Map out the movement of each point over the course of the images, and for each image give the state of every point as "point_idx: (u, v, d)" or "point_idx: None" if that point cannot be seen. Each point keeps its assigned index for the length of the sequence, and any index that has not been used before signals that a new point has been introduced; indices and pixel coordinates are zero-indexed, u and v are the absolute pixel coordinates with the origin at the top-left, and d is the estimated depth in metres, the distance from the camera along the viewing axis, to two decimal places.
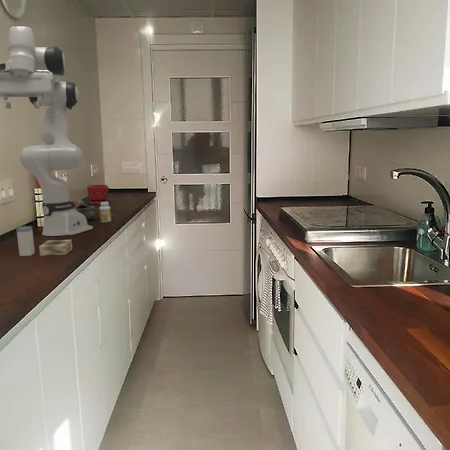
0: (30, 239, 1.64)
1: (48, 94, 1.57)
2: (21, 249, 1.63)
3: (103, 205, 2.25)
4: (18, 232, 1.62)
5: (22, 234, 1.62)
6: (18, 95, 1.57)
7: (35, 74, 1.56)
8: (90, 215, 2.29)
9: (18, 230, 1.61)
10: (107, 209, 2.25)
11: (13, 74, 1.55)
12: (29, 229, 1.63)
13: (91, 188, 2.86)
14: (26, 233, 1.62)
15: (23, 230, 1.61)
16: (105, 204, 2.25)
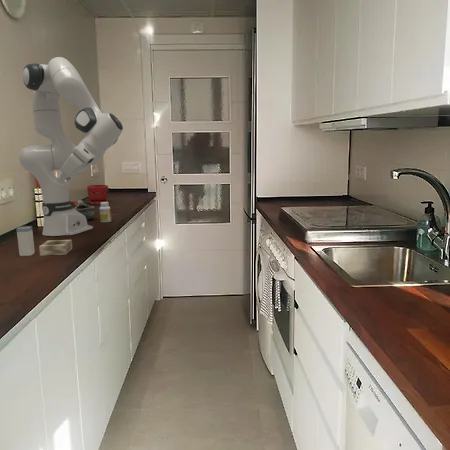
0: (30, 239, 1.64)
1: None
2: (21, 249, 1.63)
3: (103, 205, 2.25)
4: (18, 232, 1.62)
5: (22, 234, 1.62)
6: None
7: None
8: (90, 215, 2.29)
9: (18, 230, 1.61)
10: (107, 209, 2.25)
11: None
12: (29, 229, 1.63)
13: (91, 188, 2.86)
14: (26, 233, 1.62)
15: (23, 230, 1.61)
16: (105, 204, 2.25)
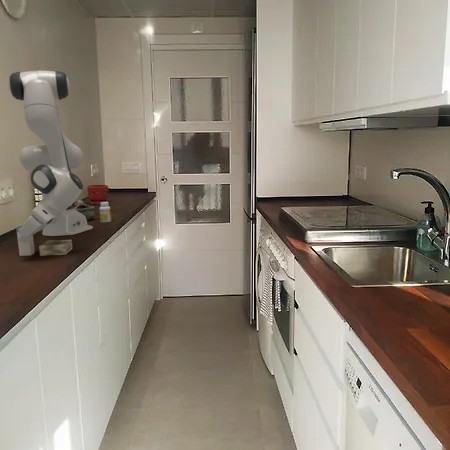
0: (30, 239, 1.64)
1: None
2: (21, 249, 1.63)
3: (103, 205, 2.25)
4: (18, 232, 1.62)
5: None
6: None
7: None
8: (90, 215, 2.29)
9: (18, 230, 1.61)
10: (107, 209, 2.25)
11: None
12: None
13: (91, 188, 2.86)
14: None
15: None
16: (105, 204, 2.25)
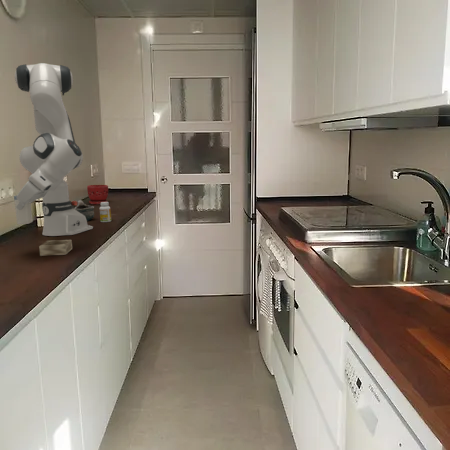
0: (28, 207, 1.62)
1: None
2: (19, 217, 1.61)
3: (103, 205, 2.25)
4: (15, 200, 1.59)
5: None
6: None
7: None
8: (90, 215, 2.29)
9: (15, 198, 1.59)
10: (107, 209, 2.25)
11: None
12: None
13: (91, 188, 2.86)
14: None
15: None
16: (105, 204, 2.25)
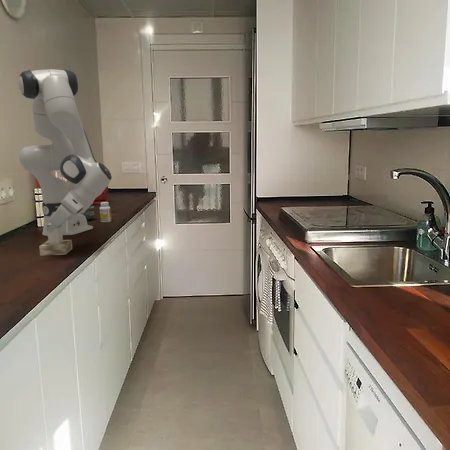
0: (60, 235, 1.66)
1: None
2: None
3: (103, 205, 2.25)
4: None
5: None
6: None
7: None
8: (90, 215, 2.29)
9: (48, 226, 1.64)
10: (107, 209, 2.25)
11: None
12: None
13: None
14: (56, 229, 1.64)
15: None
16: (105, 204, 2.25)
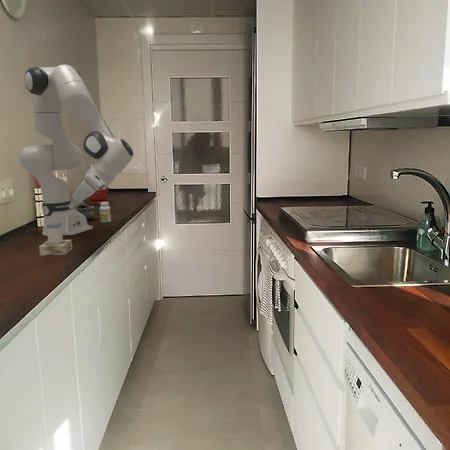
0: (60, 235, 1.66)
1: None
2: None
3: (103, 205, 2.25)
4: (48, 228, 1.64)
5: (52, 230, 1.64)
6: None
7: None
8: (90, 215, 2.29)
9: (48, 226, 1.63)
10: (107, 209, 2.25)
11: None
12: (59, 225, 1.65)
13: None
14: (56, 229, 1.64)
15: (53, 226, 1.63)
16: (105, 204, 2.25)
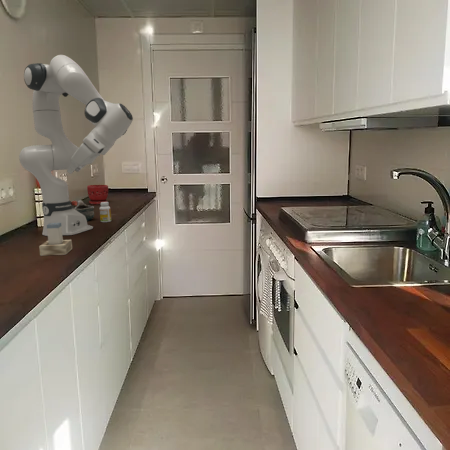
0: (60, 235, 1.66)
1: None
2: None
3: (103, 205, 2.25)
4: (48, 228, 1.64)
5: (52, 230, 1.64)
6: None
7: None
8: (90, 215, 2.29)
9: (48, 226, 1.63)
10: (107, 209, 2.25)
11: None
12: (59, 225, 1.65)
13: (91, 188, 2.86)
14: (56, 229, 1.64)
15: (53, 226, 1.63)
16: (105, 204, 2.25)
